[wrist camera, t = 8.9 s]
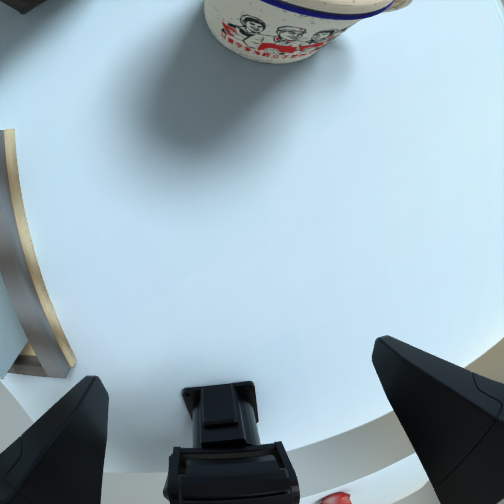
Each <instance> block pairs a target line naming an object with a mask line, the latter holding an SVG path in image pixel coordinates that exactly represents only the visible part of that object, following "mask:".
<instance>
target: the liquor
mask: <svg viewBox="0 0 504 504" xmlns="http://www.w3.org/2000/svg"><path fill="white" fill-rule="evenodd" d="M349 498H350V494H347V493H344V492H337V493H334V494H331V495H329V496H327V497H325V498H324V499H323V500H322V502H321V503H320V504H351V501H350V499H349Z"/></svg>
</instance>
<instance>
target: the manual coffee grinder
mask: <svg viewBox="0 0 504 504" xmlns="http://www.w3.org/2000/svg"><path fill="white" fill-rule="evenodd" d="M0 1H2V2H3V3H5V4H7V5H9V6H10V7H12V8H14V9H15V10H17V11H19V12H20V13H21V14H25V13H27V12H28V11H30V10H31V9H33V8H34V7H36V6H38V5H39V4H41V3H43V2H44V1H46V0H0Z"/></svg>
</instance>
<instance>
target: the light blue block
mask: <svg viewBox="0 0 504 504" xmlns="http://www.w3.org/2000/svg"><path fill="white" fill-rule="evenodd" d="M27 342H28V339H27V337H26V334H25V332H24V330H23V328H22V326H21V324H20V322H19V319H18V317H17V315H16V312H15V310H14V308H13V305H12V303H11V300H10V298H9V295H8V293H7V290H6V287H5V284H4V282H3V279H2V276H1V273H0V379H2V380H3V378H4V377H5V375H6V374H7V372H8V370H9V369H10V367H11V366H12V364H13V363H14V361H15V360H16V358H17V357H18V355H19V354H20V352H21V351H22V349H23V348H24V346H25V345H26V344H27Z"/></svg>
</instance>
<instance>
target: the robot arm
mask: <svg viewBox="0 0 504 504" xmlns="http://www.w3.org/2000/svg"><path fill="white" fill-rule="evenodd" d="M372 362H373V365H374V367H375V370H376V372H377V375H378V377H379V379H380V382H381V384H382V387H383V389H384V392H385V394H386V396H387V398H388V400H389V402H390V404H391V406H392V408H393V410H394V412H395V413H396V415H397V417H398V419H399V421H400V423H401V425H402V426H403V428H404V430H405V432H406V434H407V436H408V438H409V440H410V442H411V444H412V446H413V448H414V449H415V451H416V454H417V455H418V457H419V459H420V461H421V463H422V465H423V467H424V469H425V472H426V474H427V476H428V478H429V480H430V482H431V483H432V486H433V488H434V491H435V493H436V495H437V497H438V499H439V501H440V503H441V504H504V384H503V383H500V382H497V381H493V380H491V379H489V378H486V377H483V376H481V375H479V374H476V373H474V372H472V373H471V371H469V370H466V369H464V368H462V367H460V366H457V365H455V364H452V363H450V362H448V361H446V360H443V359H441V358H439V357H436V356H434V355H432V354H429V353H427V352H425V351H422V350H420V349H418V348H416V347H413V346H411V345H409V344H407V343H404V342H402V341H400V340H398V339H395V338H393V337H391V336H388V335H385V336H382V337H378V338H377V339H376V340H375V344H374V349H373V353H372ZM247 386H249V387H247ZM182 395H183V398H184V401H185V403H186V406H187V408H188V411H189V414H190V416H191V419H192V421H193V448H181V447H174V449H173V454H171V456H169V471H168V476H167V480H166V483H165V486H164V489H163V495H164V497H165V498H166V499H167V500H169V501H170V504H299V501H300V491H299V484H298V480H297V476H296V474H295V471H294V469H293V467H292V464H291V462H290V460H289V458H288V456H287V453H286V451H285V449H284V446H283V444H282V442H281V441H279V442H274V443H271V444H262V445H261V444H260V439H259V434H258V430H257V425H256V423H258V421H259V420H258V411H257V403H256V394H255V386H254V383H253V382H252V381H246V382H239V383H231V384H223V385H214V386H204V387H194V388H185V389H183V391H182ZM108 403H109V397H108V393H107V391H106V389H105V387H104V386H103V384H102V382H101V380H100V378H99V377H98V376H85V377H84V378H83V379H82V380H81V381H80V382H79V383H78V384H76V385H75V386H74V387H73V388H72V389H71V390H70V391H69V392H68V393H67V394H65V395H64V396H63V397H62V398H61V399H60V400H59V401H58V402H57V403H56V404H54V405H53V406H52V407H51V408H50V409H49V410H48V411H47V412H46V413H45V414H44V415H42V416H41V417H40V418H39V419H38V420H37V421H36V422H35V423H34V424H33V425H32V426H31V427H30V428H29V429H27V430H26V431H25V432H24V433H23V434H22V436H20V437H19V438H18V439H17V440H16V441H15V442H13V443H12V444H11V445H10V446H9V447H8V448H7V449H6V450H4V451H3V452H2V453H1V454H0V504H100V503H101V502H100V501H101V487H102V476H103V466H104V458H105V449H106V441H107V424H108Z"/></svg>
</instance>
